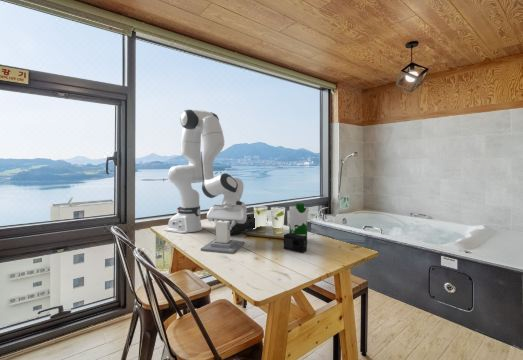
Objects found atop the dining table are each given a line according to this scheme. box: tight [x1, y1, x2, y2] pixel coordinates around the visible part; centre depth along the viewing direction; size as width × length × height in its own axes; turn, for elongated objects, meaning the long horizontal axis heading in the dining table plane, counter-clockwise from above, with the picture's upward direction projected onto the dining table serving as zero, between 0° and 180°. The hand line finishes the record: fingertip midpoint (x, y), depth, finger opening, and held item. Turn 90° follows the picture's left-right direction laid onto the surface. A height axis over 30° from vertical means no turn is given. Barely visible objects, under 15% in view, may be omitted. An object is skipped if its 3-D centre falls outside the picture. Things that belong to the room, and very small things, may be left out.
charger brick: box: [215, 220, 231, 243], centre depth 134 cm, size 6×4×10 cm
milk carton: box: [288, 202, 309, 238], centre depth 143 cm, size 9×9×20 cm
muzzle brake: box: [230, 212, 269, 236], centre depth 164 cm, size 10×28×10 cm, turn 136°
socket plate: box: [200, 238, 245, 255], centre depth 134 cm, size 16×16×2 cm
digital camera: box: [283, 232, 308, 254], centre depth 130 cm, size 10×5×7 cm, turn 53°
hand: (222, 229), depth 133 cm, fingers closed on charger brick, 5 cm apart
